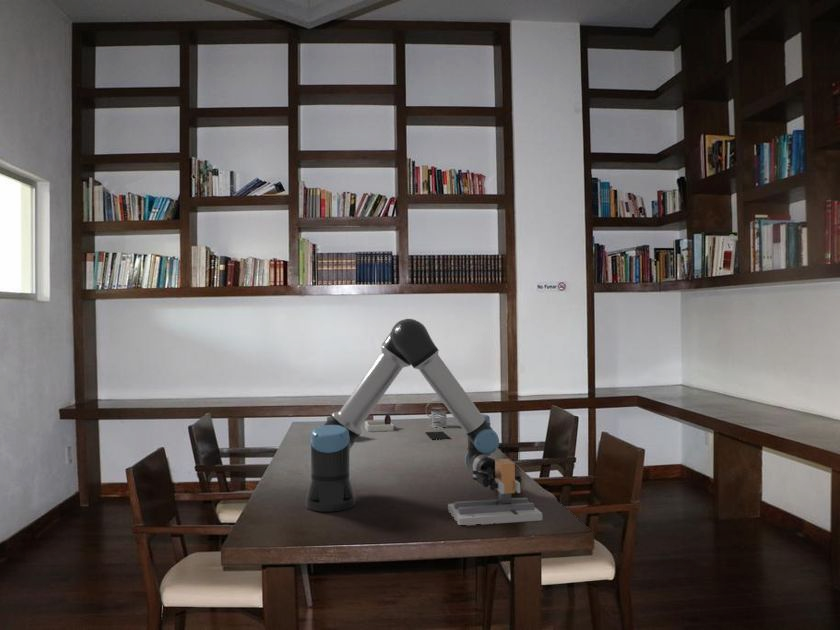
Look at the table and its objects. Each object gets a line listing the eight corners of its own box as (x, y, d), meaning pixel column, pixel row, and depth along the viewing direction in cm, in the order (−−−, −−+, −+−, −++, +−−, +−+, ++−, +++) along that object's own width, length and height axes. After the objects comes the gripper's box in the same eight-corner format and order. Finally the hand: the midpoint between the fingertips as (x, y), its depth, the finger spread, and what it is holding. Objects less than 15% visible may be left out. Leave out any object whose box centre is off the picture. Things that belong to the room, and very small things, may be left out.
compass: (372, 428, 327) (372, 414, 327) (386, 427, 331) (386, 413, 331) (378, 431, 320) (378, 416, 320) (393, 430, 324) (393, 415, 324)
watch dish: (367, 431, 319) (367, 425, 319) (364, 427, 332) (364, 421, 332) (393, 430, 322) (393, 424, 321) (390, 426, 334) (389, 420, 334)
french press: (448, 428, 327) (448, 379, 327) (425, 428, 327) (425, 379, 327) (448, 424, 337) (447, 377, 337) (425, 425, 337) (425, 377, 337)
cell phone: (442, 433, 316) (442, 431, 316) (451, 440, 299) (451, 438, 299) (425, 433, 315) (424, 432, 315) (432, 441, 297) (432, 439, 297)
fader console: (459, 525, 178) (459, 512, 178) (448, 510, 192) (448, 498, 192) (542, 520, 182) (542, 507, 182) (525, 505, 196) (525, 493, 196)
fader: (500, 510, 184) (500, 464, 184) (494, 504, 190) (494, 459, 190) (515, 509, 185) (515, 463, 185) (509, 503, 191) (508, 458, 191)
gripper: (513, 479, 207) (539, 500, 184) (461, 482, 204) (481, 503, 181) (513, 456, 207) (539, 473, 184) (461, 458, 204) (481, 476, 181)
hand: (510, 488), depth 182 cm, fingers closed on fader, 4 cm apart
